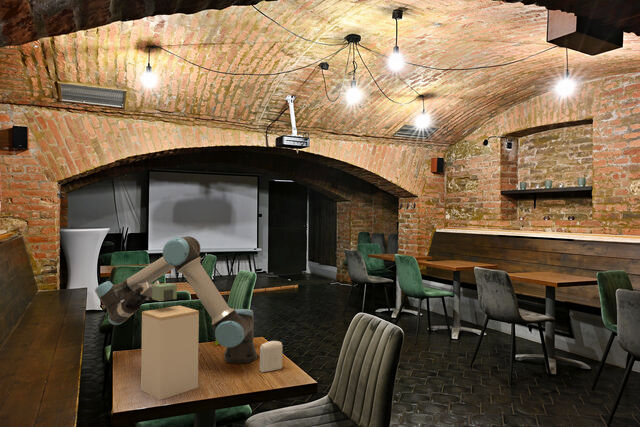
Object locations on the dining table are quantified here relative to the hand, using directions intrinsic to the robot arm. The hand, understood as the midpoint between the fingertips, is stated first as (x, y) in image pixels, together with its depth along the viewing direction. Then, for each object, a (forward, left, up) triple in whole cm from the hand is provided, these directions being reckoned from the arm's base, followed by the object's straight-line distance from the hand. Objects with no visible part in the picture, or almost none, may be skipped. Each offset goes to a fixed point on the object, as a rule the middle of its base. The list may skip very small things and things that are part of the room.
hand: (152, 284), depth 181 cm
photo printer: (-48, -11, -39) cm, 63 cm away
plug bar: (-1, +1, -5) cm, 5 cm away
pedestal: (-10, +9, -39) cm, 41 cm away
